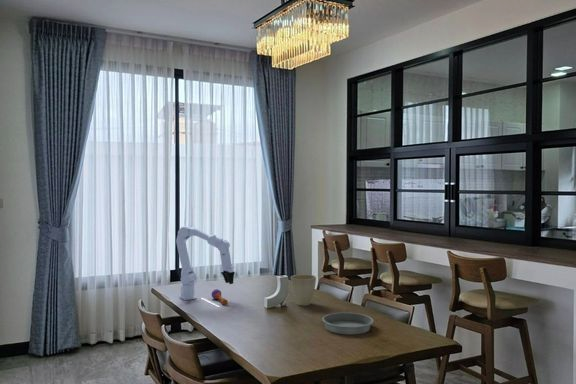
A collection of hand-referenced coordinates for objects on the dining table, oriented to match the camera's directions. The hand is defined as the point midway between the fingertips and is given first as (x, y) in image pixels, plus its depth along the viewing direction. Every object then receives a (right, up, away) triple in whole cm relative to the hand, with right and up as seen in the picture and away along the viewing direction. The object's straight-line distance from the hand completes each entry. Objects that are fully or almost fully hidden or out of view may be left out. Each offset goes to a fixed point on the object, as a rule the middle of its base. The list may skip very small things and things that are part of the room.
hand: (229, 283), depth 291 cm
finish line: (-11, -10, -5) cm, 16 cm away
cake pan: (+64, -11, -56) cm, 86 cm away
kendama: (-5, -11, -2) cm, 12 cm away
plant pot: (+44, -11, -9) cm, 46 cm away
